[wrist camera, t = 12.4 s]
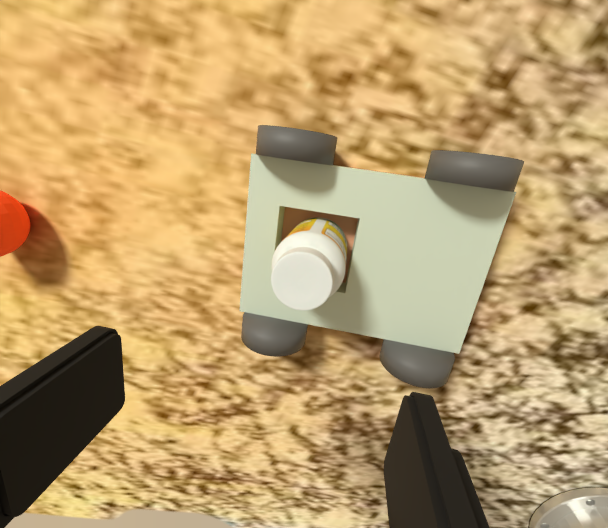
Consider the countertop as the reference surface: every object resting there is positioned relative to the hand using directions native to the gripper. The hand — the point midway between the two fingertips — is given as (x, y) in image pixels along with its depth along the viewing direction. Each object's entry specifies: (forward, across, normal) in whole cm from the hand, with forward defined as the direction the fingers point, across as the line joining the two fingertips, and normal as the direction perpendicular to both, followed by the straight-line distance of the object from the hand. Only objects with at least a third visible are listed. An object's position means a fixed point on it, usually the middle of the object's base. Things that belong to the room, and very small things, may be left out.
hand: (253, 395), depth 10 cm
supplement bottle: (+20, 0, 0) cm, 20 cm away
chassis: (+20, -4, 0) cm, 21 cm away
